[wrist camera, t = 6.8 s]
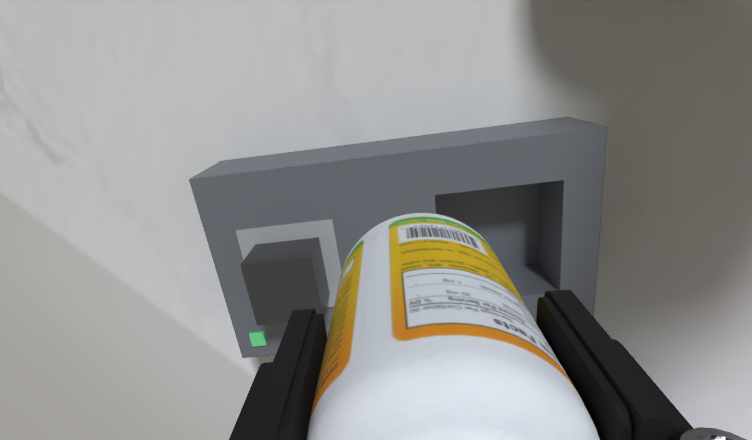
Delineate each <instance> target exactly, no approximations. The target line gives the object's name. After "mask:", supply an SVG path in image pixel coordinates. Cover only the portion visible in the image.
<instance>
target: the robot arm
mask: <svg viewBox="0 0 752 440" xmlns="http://www.w3.org/2000/svg"><path fill="white" fill-rule="evenodd" d="M536 324H537V326H538V328H539V329H540V331H541V332H542V334H543V336H544V338H545V339H546V341H547V343H548V344H549V346H550V347H551V349H552V351H553V353H554V354H555V356H556V358H557V360H558V361H559V363H560V364H561V366H562V367H563V368H564V370H565V372H566V374H567V376H568V377H569V379H570V380H571V382H572V384H573V385H574V387H575V389H576V390H577V392H578V394H579V395H580V397H581V399H582V401H583V403H584V405H585V407H586V409H587V411H588V413H589V415H590V417H591V419H592V421H593V423H594V425H595V427H596V430H597V433H598V436H599V439H600V440H746V439H744V438H741V437H739V436H737V435H735V434H732V433H730V432H726V431H722V430H718V429H714V428H701V427H700V428H695V429H693V428H692V426H691V425H690V424H689V423H688V422H687V421H686V419H685V418H684V417H683V416H682V415H681V413H680V412H679V411H678V410H677V409H676V408H675V406H674V405H673V404H672V403H671V402H670V401H669V399H668V398H667V397H666V396H665V395H664V394H663V392H662V391H661V390H660V389H659V388H658V386H657V385H656V384H655V383H654V382H653V381H652V379H651V378H650V377H649V376H648V375H647V374H646V372H645V371H644V370H643V369H642V368H641V367H640V365H639V364H638V363H637V362H636V361H635V359H634V358H633V357H632V356H631V355H630V354H629V352H628V351H627V350H626V349H625V348H624V347H623V345H622V344H620V343H619V342H618V341H616V340H614V339H611V338H610V336H609V335H608V334H607V333H606V332H605V330H604V329H603V328H602V327H601V326H600V324H599V323H598V322H597V321H596V320H595V318H594V317H593V316H592V315H591V314H590V312H589V311H588V310H587V309H586V308H585V306H584V305H583V304H582V303H581V302H580V300H579V299H578V298H577V297H576V296H575V294H574V293H573V292H572V291H571V290H554V291H546V292H545V294H544V297H539V298H538V301H537V317H536ZM326 342H327V333H326V327H325V321H324V316H323V314H322V313H319V314H316V310H315V309H314V308H312V309H298V310H293V311H292V313H291V316H290V318H289V321H288V324H287V326H286V329H285V332H284V334H283V337H282V340H281V342H280V345H279V348H278V350H277V353H276V356H275V358H274V361H273V362H269V363H263V364H261V365H260V367H259V369H258V371H257V374H256V376H255V379H254V381H253V383H252V386H251V388H250V391H249V393H248V395H247V398H246V400H245V403H244V405H243V408H242V410H241V412H240V415H239V417H238V420H237V422H236V424H235V427H234V429H233V432H232V434H231V436H230V439H229V440H307V435H308V427H309V421H310V417H311V412H312V407H313V402H314V398H315V392H316V388H317V383H318V379H319V374H320V370H321V365H322V360H323V355H324V351H325V346H326Z"/></svg>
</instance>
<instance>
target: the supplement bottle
mask: <svg viewBox="0 0 752 440" xmlns="http://www.w3.org/2000/svg"><path fill="white" fill-rule="evenodd" d="M307 440H600V439H599V436H598V433H597V430H596V427H595V425H594V423H593V421H592V419H591V417H590V415H589V413H588V411H587V409H586V407H585V405H584V403H583V401H582V399H581V397H580V395H579V394H578V392H577V390H576V389H575V387H574V385H573V384H572V382H571V380H570V379H569V377H568V376H567V374H566V372H565V370H564V368H563V367H562V366H561V364H560V363H559V361H558V360H557V358H556V356H555V354H554V353H553V351H552V349H551V347H550V346H549V344H548V343H547V341H546V339H545V338H544V336H543V334H542V332H541V331H540V329H539V328H538V326H537V324H536V322H535V320H534V319H533V317H532V315H531V313H530V312H529V310H528V308H527V307H526V305H525V303H524V302H523V300H522V299H521V297H520V295H519V293H518V291H517V290H516V288H515V287H514V285H513V283H512V281H511V280H510V278H509V276H508V275H507V273H506V271H505V270H504V268H503V266H502V264H501V263H500V261H499V259H498V258H497V256H496V255H495V253H494V251H493V250H492V249H491V247H490V245H489V244H488V243H487V242H486V241H485V239H484V238H483V237H482V236H481V235H480V234H478V233H477V232H476V231H475V230H473V229H472V228H470V227H469V226H467V225H466V224H464V223H462V222H460V221H458V220H455V219H453V218H450V217H447V216H443V215H439V214H432V213H412V214H405V215H401V216H397V217H394V218H391V219H389V220H386V221H384V222H382V223H380V224H378V225H377V226H375V227H373V228H372V229H371V230H369V231H368V232H367V233H366V234H365V235H363V236H362V237H361V238H360V240H359V241H358V242H357V243H356V244H355V246H354V247H353V248H352V250H351V251H350V253H349V255H348V256H347V259H346V261H345V263H344V266H343V269H342V272H341V276H340V280H339V285H338V290H337V294H336V300H335V305H334V310H333V314H332V319H331V324H330V329H329V332H328V338H327V342H326V346H325V351H324V355H323V360H322V365H321V370H320V374H319V379H318V383H317V388H316V392H315V398H314V402H313V407H312V412H311V417H310V421H309V427H308V435H307Z"/></svg>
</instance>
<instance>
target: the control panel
mask: <svg viewBox="0 0 752 440" xmlns="http://www.w3.org/2000/svg"><path fill="white" fill-rule="evenodd" d="M606 138H607V127H605V126H601V125H597V124H593V123H589V122H585V121H581V120H578V119H574V118H570V117H565V118H557V119H549V120H541V121H533V122H525V123H518V124H510V125H502V126H494V127H486V128H478V129H470V130H462V131H454V132H447V133H439V134H431V135H423V136H415V137H407V138H399V139H391V140H383V141H376V142H368V143H360V144H352V145H344V146H336V147H328V148H320V149H312V150H305V151H297V152H289V153H281V154H273V155H265V156H257V157H249V158H241V159H234V160H226V161H220V162H219V163H217V164H215V165H213V166H212V167H210V168H208V169H206V170H204V171H203V172H201V173H199V174H197V175H196V176H194V177H192V178H190V179H189V181H190V184H191V188H192V191H193V194H194V198H195V201H196V204H197V208H198V211H199V214H200V218H201V221H202V224H203V228H204V231H205V234H206V238H207V241H208V244H209V248H210V251H211V254H212V257H213V261H214V264H215V267H216V271H217V274H218V277H219V281H220V284H221V287H222V291H223V294H224V297H225V301H226V304H227V307H228V311H229V314H230V317H231V321H232V324H233V327H234V331H235V334H236V337H237V341H238V344H239V347H240V351H241V354H242V357H243V358H247V357H258V356H268V355H276V353H277V350H278V348H279V345H280V342H281V340H282V337H283V334H284V332H285V329H286V326H287V324H288V321H289V318H290V316H291V313H292V311H293V310H298V309H312V308H314V309H315V310H316V314H319V313H322V314H323V316H324V321H325V327H326V333H327V338H328V332H329V329H330V324H331V319H332V314H333V310H334V305H335V300H336V294H337V290H338V285H339V280H340V276H341V272H342V269H343V266H344V263H345V261H346V259H347V256H348V255H349V253H350V251H351V250H352V248H353V247H354V246H355V244H356V243H357V242H358V241H359V240H360V238H361V237H362V236H363V235H365V234H366V233H367V232H368V231H369V230H371V229H372V228H373V227H375V226H377V225H378V224H380V223H382V222H384V221H386V220H389V219H391V218H394V217H397V216H401V215H405V214H412V213H432V214H439V215H443V216H447V217H450V218H453V219H455V220H458V221H460V222H462V223H464V224H466V225H467V226H469V227H470V228H472V229H473V230H475V231H476V232H477V233H478V234H480V235H481V236H482V237H483V238H484V239H485V241H486V242H487V243H488V244H489V245H490V247H491V249H492V250H493V251H494V253H495V255H496V256H497V258H498V259H499V261H500V263H501V264H502V266H503V268H504V270H505V271H506V273H507V275H508V276H509V278H510V280H511V281H512V283H513V285H514V287H515V288H516V290H517V291H518V293H519V295H520V297H521V299H522V300H523V302H524V303H525V305H526V307H527V308H528V310H529V312H530V313H531V315H532V317H533V319H534V320H535V322H536V317H537V301H538V298H539V297H544V294H545V292H546V291H554V290H571V291H572V292H573V293H574V294H575V296H576V297H577V298H578V299H579V300H580V302H581V303H582V304H583V305H584V306H585V308H586V309H587V310H588V311H589V312H590V314H591V315H592V316H593V317H594V304H595V291H596V277H597V263H598V249H599V235H600V221H601V207H602V193H603V179H604V165H605V151H606Z"/></svg>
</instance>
